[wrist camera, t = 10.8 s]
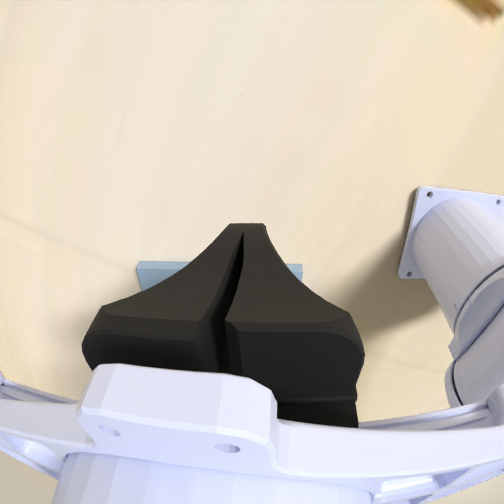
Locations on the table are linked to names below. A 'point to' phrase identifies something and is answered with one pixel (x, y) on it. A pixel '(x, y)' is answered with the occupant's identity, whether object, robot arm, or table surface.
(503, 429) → the robot arm
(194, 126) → the table surface
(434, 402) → the table surface
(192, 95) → the table surface
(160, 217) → the table surface
